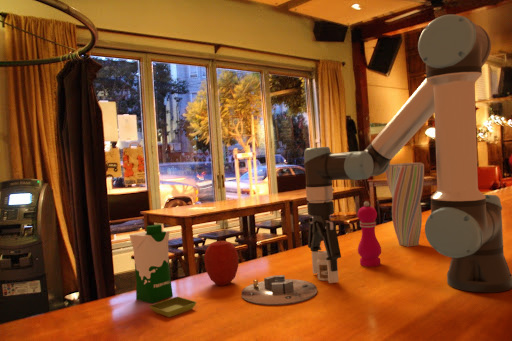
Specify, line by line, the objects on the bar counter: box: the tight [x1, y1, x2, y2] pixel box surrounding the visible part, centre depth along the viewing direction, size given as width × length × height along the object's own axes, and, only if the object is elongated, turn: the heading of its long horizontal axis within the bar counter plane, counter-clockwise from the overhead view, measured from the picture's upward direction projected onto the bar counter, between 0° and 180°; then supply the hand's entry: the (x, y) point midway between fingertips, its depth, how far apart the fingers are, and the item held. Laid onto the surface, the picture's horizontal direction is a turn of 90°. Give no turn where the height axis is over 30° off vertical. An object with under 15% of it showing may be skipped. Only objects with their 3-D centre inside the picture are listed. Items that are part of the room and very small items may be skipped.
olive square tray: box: [148, 296, 198, 318], centre depth 112 cm, size 9×9×2 cm
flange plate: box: [241, 274, 318, 306], centre depth 120 cm, size 20×20×4 cm
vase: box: [385, 162, 425, 247], centre depth 167 cm, size 14×14×30 cm
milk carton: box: [129, 224, 174, 305], centre depth 123 cm, size 9×9×20 cm
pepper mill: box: [357, 201, 382, 268], centre depth 143 cm, size 7×7×20 cm
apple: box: [203, 236, 239, 287], centre depth 132 cm, size 10×10×14 cm
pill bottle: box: [316, 250, 328, 282], centre depth 130 cm, size 4×4×8 cm
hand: (325, 277), depth 130 cm, fingers open, 10 cm apart
